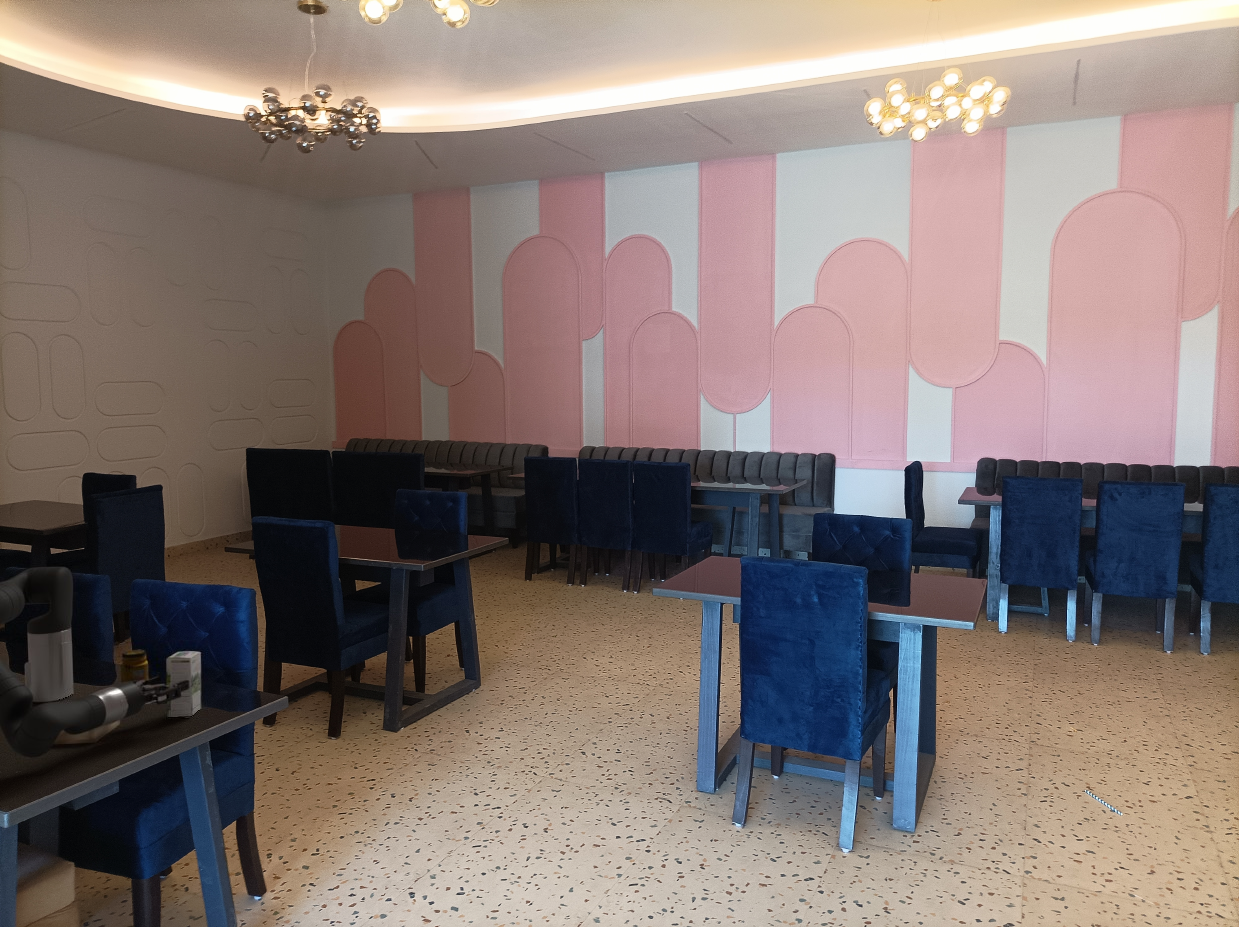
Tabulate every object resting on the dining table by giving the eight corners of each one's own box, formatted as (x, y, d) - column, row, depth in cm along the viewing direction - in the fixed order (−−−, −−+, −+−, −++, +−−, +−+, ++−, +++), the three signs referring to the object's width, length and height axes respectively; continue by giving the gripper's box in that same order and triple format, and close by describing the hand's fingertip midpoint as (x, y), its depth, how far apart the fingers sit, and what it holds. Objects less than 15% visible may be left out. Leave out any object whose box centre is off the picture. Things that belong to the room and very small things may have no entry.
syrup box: (177, 710, 204) (175, 651, 204) (202, 709, 205) (200, 650, 204) (166, 718, 199) (164, 657, 198) (192, 717, 199) (191, 657, 199)
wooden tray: (38, 745, 183) (38, 728, 182) (67, 726, 194) (66, 711, 194) (94, 742, 184) (94, 726, 184) (119, 724, 195) (119, 708, 195)
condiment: (151, 693, 218) (150, 647, 218) (149, 702, 211) (148, 655, 210) (119, 697, 215) (117, 650, 214) (115, 707, 207) (114, 658, 207)
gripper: (88, 717, 185) (151, 695, 201) (138, 725, 181) (198, 701, 196) (87, 684, 185) (150, 663, 200) (137, 690, 180) (197, 669, 196)
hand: (173, 682), depth 198 cm, fingers open, 8 cm apart
